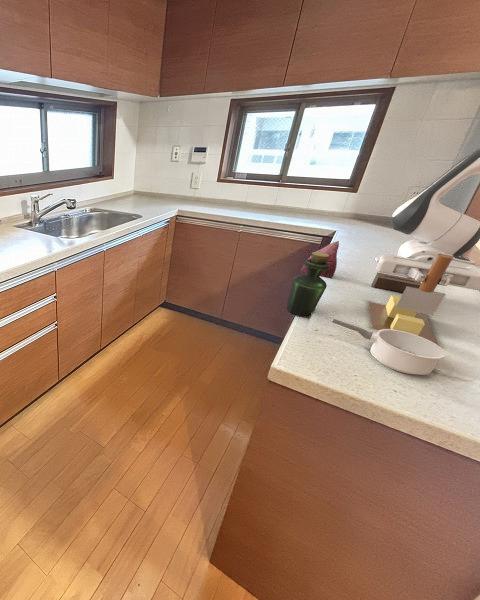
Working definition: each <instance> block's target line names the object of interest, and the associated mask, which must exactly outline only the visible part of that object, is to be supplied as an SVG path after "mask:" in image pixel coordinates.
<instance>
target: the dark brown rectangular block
mask: <svg viewBox="0 0 480 600" xmlns="http://www.w3.org/2000/svg"><path fill="white" fill-rule="evenodd" d="M421 284H422V282H417V281H413V280H410V279H408V278H407V277H403V276H397V275H392V274H387V273H381V272H378V271H376V274H375V276H374V278H373V281H372V283H371V288H373V289H378V290H382V291H387V292H392V293H397V294H403V293H404V291H405V289H406V287H407V286H408V287H413V288H418V289H419V287H420V285H421Z"/></svg>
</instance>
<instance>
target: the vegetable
mask: <svg viewBox="0 0 480 600" xmlns="http://www.w3.org/2000/svg"><path fill="white" fill-rule="evenodd" d="M339 246H340V241H339V240H337V241H333V242H331V243H329V244H328V245H326V246H324V247H322V248H321V249H318V250H316V251H315V252H321V253H325V254H328V255H329V256H328V258H327V259H326V261H325V262H327V263H328V264H329V269H327V270H323V271H322V272H321V274H320V275H319V277H320V278H326V279H330V280H331V279H333V277H334V275H335V273H336V269H337V265H338V264H337V263H338V257H337V255H338V250H339ZM307 259H312V254H311V255H310V256H309V257H308V258H307ZM300 273H301V274H302V275H303V274H307V266H305V265H304V264H303V265H302V267H301V270H300Z"/></svg>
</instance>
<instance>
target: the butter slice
mask: <svg viewBox="0 0 480 600" xmlns="http://www.w3.org/2000/svg"><path fill="white" fill-rule="evenodd" d="M424 325H425V323H424V321H423V319H419V318H414V317H410V316H406V315H402V314H397V315H396V317H395V318H394V320H393V322H392V324H391V326H390V327H391V329H393V330H399V331H404V332H408V333H411V334H414V335H417V336H418V335H419V333H420V332H421V330H422V328H423V327H424Z"/></svg>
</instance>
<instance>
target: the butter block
mask: <svg viewBox="0 0 480 600" xmlns="http://www.w3.org/2000/svg"><path fill="white" fill-rule="evenodd" d="M400 298H401V296H400V295H395V294H391V295H390V297H389V299H388V301H387V303H386V305H385V306H386V310H387V315H388V317H391V318H395V317H396V315H397V314H402V315H406V316H410V317H415V315H416V314H417V313H418V312H415V311H411V310H407V309H402V308H398V307H396V306H397V304H398V302H399V300H400Z"/></svg>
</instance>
